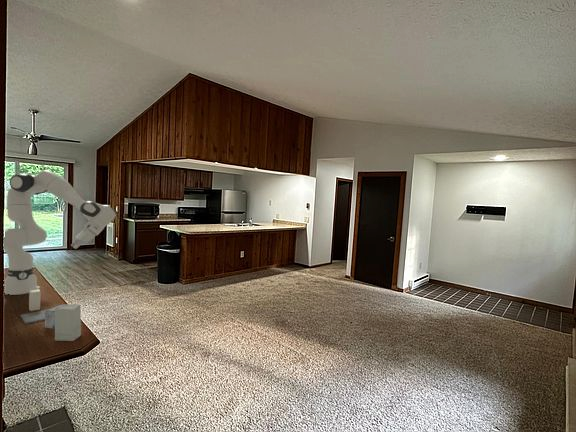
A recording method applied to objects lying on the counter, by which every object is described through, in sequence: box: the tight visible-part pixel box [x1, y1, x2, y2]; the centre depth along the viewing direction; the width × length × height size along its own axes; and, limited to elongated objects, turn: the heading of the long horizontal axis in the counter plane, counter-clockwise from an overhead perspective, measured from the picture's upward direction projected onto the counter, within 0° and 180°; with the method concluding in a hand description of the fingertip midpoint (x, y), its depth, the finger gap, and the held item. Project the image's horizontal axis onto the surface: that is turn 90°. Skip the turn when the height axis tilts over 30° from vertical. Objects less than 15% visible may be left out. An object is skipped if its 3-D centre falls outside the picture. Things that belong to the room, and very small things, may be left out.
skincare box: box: [54, 303, 82, 342], centre depth 139 cm, size 8×6×15 cm
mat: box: [19, 309, 46, 325], centre depth 158 cm, size 12×14×1 cm
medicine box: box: [44, 304, 61, 329], centre depth 151 cm, size 8×4×9 cm, turn 168°
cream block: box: [28, 289, 42, 312], centre depth 166 cm, size 4×4×10 cm
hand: (73, 247), depth 177 cm, fingers open, 8 cm apart
